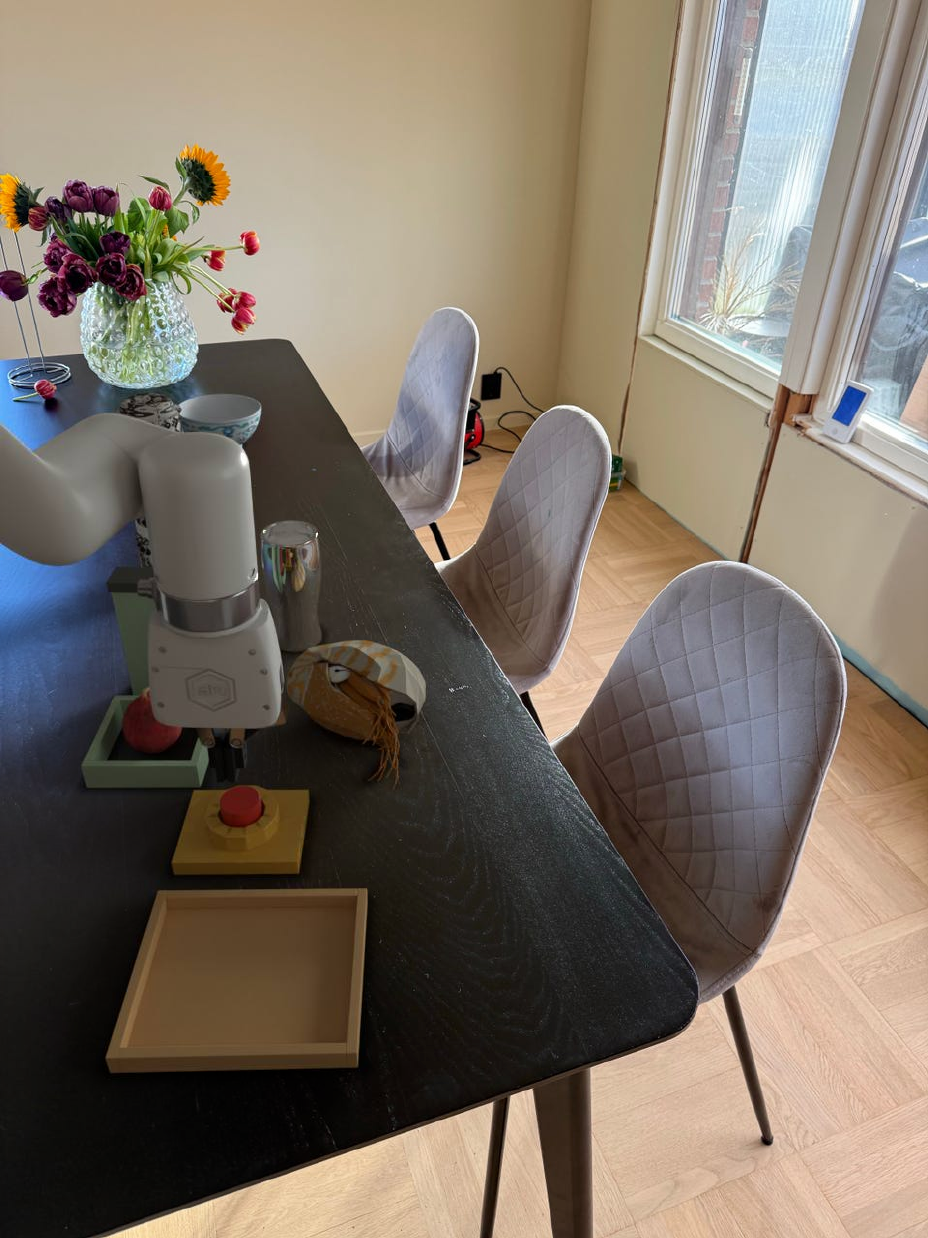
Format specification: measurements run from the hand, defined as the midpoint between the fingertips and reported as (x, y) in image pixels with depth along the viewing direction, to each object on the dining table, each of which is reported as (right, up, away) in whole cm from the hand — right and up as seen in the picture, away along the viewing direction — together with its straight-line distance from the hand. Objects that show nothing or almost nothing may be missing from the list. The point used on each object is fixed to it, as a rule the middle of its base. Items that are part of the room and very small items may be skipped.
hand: (229, 771), depth 76 cm
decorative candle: (-20, +20, +44) cm, 53 cm away
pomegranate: (-11, 0, +14) cm, 18 cm away
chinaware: (-24, +45, +84) cm, 98 cm away
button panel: (0, -7, +4) cm, 8 cm away
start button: (0, -4, +3) cm, 5 cm away
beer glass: (0, +11, +32) cm, 34 cm away
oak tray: (+4, -15, -8) cm, 18 cm away
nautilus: (+10, +1, +18) cm, 20 cm away
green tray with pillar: (-11, +2, +17) cm, 20 cm away
